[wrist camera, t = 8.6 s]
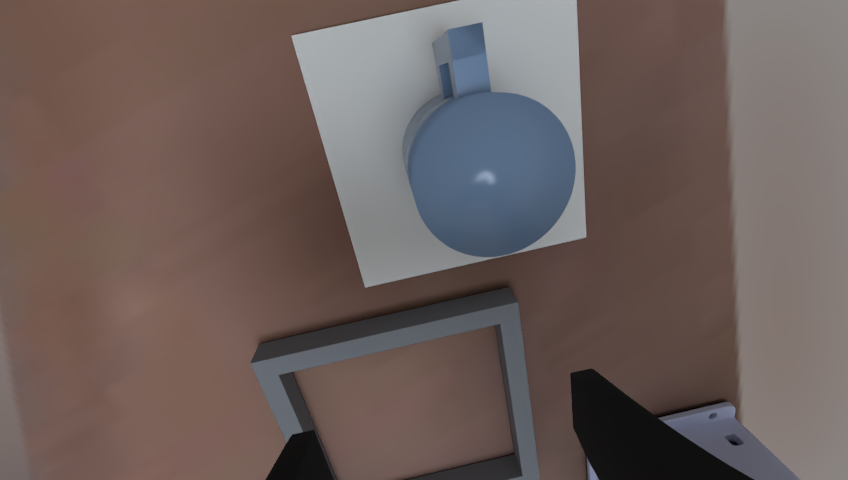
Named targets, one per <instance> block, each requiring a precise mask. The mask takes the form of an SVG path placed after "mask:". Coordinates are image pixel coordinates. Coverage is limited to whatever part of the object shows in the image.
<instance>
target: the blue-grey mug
mask: <svg viewBox="0 0 848 480" xmlns="http://www.w3.org/2000/svg"><path fill="white" fill-rule="evenodd" d="M432 45H433V51H434V57H435V63H436V69H437V74H438V80H439V86H440V92H441V95H439V96H437V97H434V98H433V99H431V100H429V101H428V102H426V103H425V104H424V105H423V106H422V107H421V108H420V109H419V110H418V111H417V112H416V113H415V114H414V116H413V117H412V119H411V120H410V122H409V124H408V126H407V129H406V131H405V134H404V139H403V145H402V156H403V163H404V166H405V170H406V173H407V176H408V180H409V183H410V186H411V190H412V193H413V196H414V200H415V203H416V206H417V209H418V212H419V214H420V216H421V218H422V220H423V222H424V223H425V225H426V226H427V228H428V229H429V230H430V231H431V233H432V234H433V235H434V236H435V237H436V238H437V239H439V240H440V241H441V242H442V243H444V244H445V245H447V246H448V247H450V248H452V249H454V250H456V251H458V252H461V253H464V254H467V255H472V256H477V257H497V256H503V255H508V254H511V253H515V252H517V251H520V250H522V249H524V248H526V247H528V246H530V245H531V244H533V243H535V242H536V241H537V240H539V239H540V238H542V237H543V236H544V235H545V234H546V233H547V232H548V231H549V230H550V229H551V228H552V227H553V226H554V225H555V224H556V222H557V221H558V220H559V218H560V217H561V215H562V214H563V212H564V210H565V208H566V206H567V205H568V202H569V199H570V197H571V194H572V191H573V187H574V182H575V174H576V162H575V153H574V149H573V145H572V142H571V139H570V137H569V135H568V132H567V131H566V129H565V127H564V126H563V124H562V123H561V121H560V120H559V119H558V118H557V116H556V115H555V114H554V113H552V112H551V111H550V110H549V109H548V108H547V107H545V106H544V105H542V104H541V103H539V102H538V101H535V100H533V99H531V98H529V97H526V96H522V95H519V94H513V93H505V92H491V87H490V79H489V71H488V63H487V55H486V47H485V39H484V31H483V23H482V22H481V23H476V24H471V25H467V26H462V27H457V28H453V29H448V30H446V31H445V32H444V33H443V34H442V35H441V36H440V37H438V38H437V39H436V40H435V41H434V42H433V43H432Z"/></svg>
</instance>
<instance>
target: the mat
mask: <svg viewBox="0 0 848 480" xmlns="http://www.w3.org/2000/svg"><path fill="white" fill-rule="evenodd" d="M481 22H482V23H483V31H484V39H485V47H486V55H487V63H488V71H489V79H490V87H491V92H505V93H513V94H519V95H522V96H526V97H529V98H531V99H533V100H535V101H538V102H539V103H541V104H542V105H544V106H545V107H547V108H548V109H549V110H550V111H551V112H552V113H554V114H555V115H556V116H557V118H558V119H559V120H560V121H561V123H562V124H563V126H564V127H565V129H566V131H567V132H568V135H569V137H570V139H571V142H572V145H573V149H574V153H575V162H576V174H575V182H574V187H573V191H572V194H571V197H570V199H569V202H568V205H567V206H566V208H565V210H564V212H563V214H562V215H561V217H560V218H559V220H558V221H557V222H556V224H555V225H554V226H553V227H552V228H551V229H550V230H549V231H548V232H547V233H546V234H545V235H544V236H543V237H542V238H540V239H539V240H537V241H536V242H535V243H533V244H531V245H530V246H528V247H526V248H524V249H522V250H520V251H517V252H515V253H511V254H516V253H520V252H524V251H529V250H533V249H538V248H542V247H547V246H551V245H555V244H560V243H564V242H569V241H573V240H577V239H582V238H586V216H585V192H584V167H583V143H582V119H581V95H580V70H579V46H578V22H577V0H458V1H453V2H448V3H444V4H439V5H434V6H430V7H425V8H420V9H415V10H411V11H406V12H401V13H396V14H392V15H387V16H382V17H378V18H373V19H368V20H363V21H359V22H354V23H349V24H345V25H340V26H335V27H330V28H326V29H321V30H316V31H311V32H307V33H302V34H297V35H293V36H291V37H292V40H293V43H294V47H295V50H296V54H297V57H298V60H299V64H300V67H301V71H302V74H303V78H304V81H305V84H306V88H307V91H308V95H309V98H310V101H311V105H312V108H313V112H314V115H315V118H316V122H317V125H318V129H319V132H320V135H321V139H322V142H323V146H324V149H325V153H326V156H327V159H328V163H329V166H330V170H331V173H332V176H333V180H334V183H335V187H336V190H337V193H338V197H339V200H340V204H341V207H342V210H343V214H344V217H345V221H346V224H347V228H348V231H349V234H350V238H351V241H352V245H353V248H354V251H355V255H356V258H357V262H358V265H359V268H360V272H361V275H362V279H363V282H364V285H365V288H366V287H370V286H374V285H379V284H383V283H388V282H392V281H397V280H401V279H405V278H410V277H414V276H419V275H423V274H427V273H432V272H436V271H441V270H445V269H449V268H454V267H458V266H463V265H467V264H472V263H476V262H480V261H485V260H489V259H494V258H498V257H502V256H497V257H477V256H472V255H467V254H464V253H461V252H458V251H456V250H454V249H452V248H450V247H448V246H447V245H445V244H444V243H442V242H441V241H440V240H439V239H437V238H436V237H435V236H434V235H433V234H432V233H431V231H430V230H429V229H428V228H427V226H426V225H425V223H424V222H423V220H422V218H421V216H420V214H419V212H418V209H417V206H416V203H415V200H414V196H413V193H412V190H411V186H410V183H409V180H408V176H407V173H406V170H405V166H404V163H403V156H402V145H403V139H404V134H405V131H406V129H407V126H408V124H409V122H410V120H411V119H412V117H413V116H414V114H415V113H416V112H417V111H418V110H419V109H420V108H421V107H422V106H423V105H424V104H425V103H426V102H428V101H429V100H431V99H433V98H434V97H437V96H439V95H441V92H440V86H439V80H438V74H437V69H436V63H435V57H434V51H433V45H432V43H433V42H434V41H435V40H436V39H437V38H438V37H440V36H441V35H442V34H443V33H444V32H445V31H446V30H448V29H453V28H457V27H462V26H467V25H471V24H476V23H481ZM511 254H508V255H511ZM503 256H507V255H503Z"/></svg>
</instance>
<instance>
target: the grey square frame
mask: <svg viewBox="0 0 848 480" xmlns="http://www.w3.org/2000/svg"><path fill="white" fill-rule="evenodd" d="M493 325H495V329H496V335H497V342H498V348H499V355H500V361H501V368H502V374H503V381H504V387H505V394H506V401H507V407H508V414H509V420H510V427H511V433H512V440H513V446H514V453H515V454H513V455H509V456H505V457H501V458H497V459H492V460H488V461H484V462H480V463H475V464H471V465H467V466H463V467H459V468H454V469H450V470H446V471H442V472H438V473H433V474H429V475H425V476H421V477H417V478H412V479H408V480H540V476H539V468H538V460H537V452H536V444H535V436H534V427H533V419H532V411H531V403H530V395H529V387H528V378H527V370H526V362H525V354H524V346H523V338H522V329H521V321H520V313H519V305H518V301H517V299H516V298H515V296H514V295H513V293H512V291H511V290H510V288H509V287H507V288H502V289H498V290H493V291H489V292H485V293H480V294H476V295H471V296H467V297H463V298H458V299H454V300H450V301H445V302H441V303H436V304H432V305H428V306H423V307H419V308H415V309H410V310H406V311H401V312H397V313H393V314H388V315H384V316H380V317H375V318H371V319H366V320H362V321H358V322H353V323H349V324H344V325H340V326H336V327H331V328H327V329H323V330H318V331H314V332H309V333H305V334H301V335H296V336H292V337H288V338H283V339H279V340H274V341H270V342H266V343H261V344H259V346H258V348H257V350H256V352H255V354H254V357H253V359H252V361H251V363H250V364H251V366H252V368H253V370H254V372H255V375H256V377H257V379H258V381H259V383H260V385H261V387H262V390H263V392H264V394H265V396H266V398H267V400H268V403H269V405H270V407H271V409H272V411H273V413H274V416H275V418H276V420H277V422H278V424H279V426H280V429H281V431H282V433H283V435H284V437H285V439H286V442H288V440H289V438H290V437H291V436H292V434H297V433H302V432H306V431H311V430H314V431H315V433H316V436H317V438H318V441H319V443H320V446H321V448H322V451H323V453H324V456H325V459H326V461H327V464H328V466H329V469H330V471H331V474H332V476H333V479H334V480H337V479H336V476H335V474H334V471H333V469H332V467H331V464H330V462H329V459H328V457H327V455H326V452H325V450H324V447H323V445H322V443H321V440H320V438H319V435H318V433H317V430H316V428H315V426H314V423H313V421H312V418H311V416H310V414H309V411H308V409H307V406H306V404H305V402H304V399H303V397H302V394H301V392H300V390H299V387H298V385H297V382H296V380H295V378H294V375H293V373H292V372H294V371H298V370H302V369H307V368H311V367H315V366H320V365H324V364H328V363H333V362H337V361H341V360H346V359H350V358H354V357H359V356H363V355H367V354H372V353H376V352H381V351H385V350H389V349H394V348H398V347H402V346H407V345H411V344H415V343H420V342H424V341H428V340H433V339H437V338H441V337H446V336H450V335H454V334H459V333H463V332H467V331H472V330H476V329H480V328H485V327H489V326H493Z"/></svg>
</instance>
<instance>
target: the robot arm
mask: <svg viewBox="0 0 848 480" xmlns="http://www.w3.org/2000/svg"><path fill="white" fill-rule="evenodd" d="M571 392H572V411H573V428H574V430H575V432H576V434H577V437H578V439H579V441H580V443H581V446H582V448H583V450H584V452H585V454H586V456H587V472H588V480H800V479H799V478H798V477H797V476H796V475H795V474H794V473H793V472H792V471H790V470H789V469H788V468H787V467H786V466H785V465H784V464H783V463H782V462H781V461H780V460H779V459H778V458H777V457H776V456H775V455H774V454H772V452H770V451H769V450H768V449H767V448H766V447H765V446H764V445H763V444H762V443H761V442H760V441H759V440H758V439H757V438H756V437H755V436H753V434H751V433H750V432H749V431H748V430H747V429H746V428H745V427H744V426H743V425H742V424H741V423H740V422H739V421H738V420H737V419H736V418H734V417H735V407H734V406H733V405H732V404H731V403H729V402H723V403H719V404H715V405H710V406H706V407H702V408H698V409H693V410H689V411H685V412H681V413H677V414H672V415H668V416H664V417H660V418H657V417H656V416H654V415H653V414H652V413H650V412H649V411H647V410H646V409H645V408H643V407H642V406H641V405H639V404H638V403H637V402H635V401H634V400H633V399H631V398H630V397H629V396H627V395H626V394H625V393H623V392H622V391H621V390H620V389H618V388H617V387H616V386H614V385H613V384H612V383H610V382H609V381H608V380H607V379H605V378H604V377H603V376H601V375H600V374H599V373H598V372H596V371H595V370H593V369H587V370H583V371H578V372H574V373H571ZM266 480H334V479H333V476H332V474H331V471H330V469H329V466H328V464H327V461H326V459H325V456H324V453H323V451H322V448H321V446H320V443H319V441H318V438H317V436H316V433H315V431H314V430H311V431H306V432H302V433H297V434H292V436H291V437H290V438H289V440H288V442H287V443H286V445H285V447H284V449H283V450H282V452H281V454H280V456H279V457H278V459H277V461H276V463H275V464H274V466H273V468H272V470H271V471H270V473H269V475H268V476H267V478H266Z"/></svg>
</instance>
